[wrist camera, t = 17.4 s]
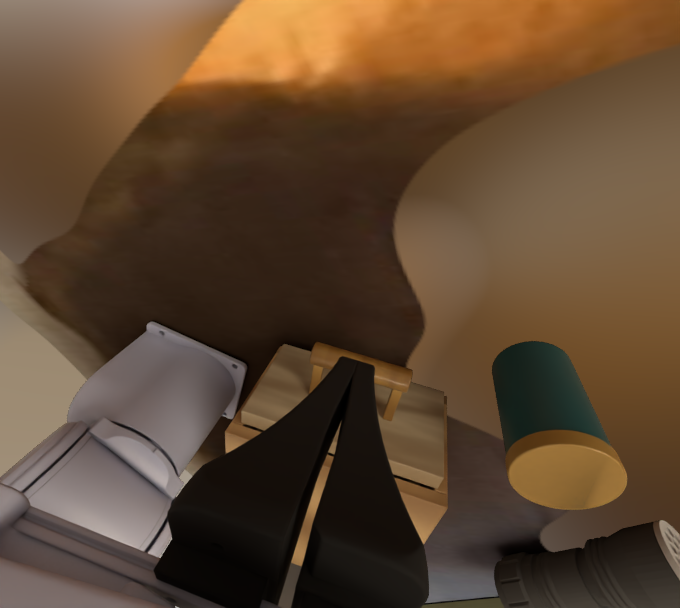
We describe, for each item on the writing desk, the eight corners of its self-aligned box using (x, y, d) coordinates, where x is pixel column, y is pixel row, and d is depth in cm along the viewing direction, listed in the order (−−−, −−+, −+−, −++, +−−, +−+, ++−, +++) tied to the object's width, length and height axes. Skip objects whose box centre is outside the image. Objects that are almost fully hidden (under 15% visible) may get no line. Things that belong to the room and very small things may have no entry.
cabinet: (280, 345, 28) (224, 431, 21) (446, 396, 26) (448, 508, 19) (271, 450, 36) (229, 539, 29) (398, 494, 34) (386, 599, 27)
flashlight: (522, 574, 36) (533, 642, 32) (485, 547, 35) (491, 613, 31) (690, 542, 28) (738, 629, 23) (647, 506, 27) (688, 588, 22)
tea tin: (479, 384, 25) (491, 489, 18) (508, 330, 22) (536, 431, 16) (550, 405, 24) (589, 522, 18) (589, 352, 22) (653, 467, 15)
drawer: (288, 297, 24) (240, 360, 19) (465, 348, 23) (471, 432, 17) (274, 447, 34) (240, 517, 28) (397, 489, 32) (387, 572, 27)
